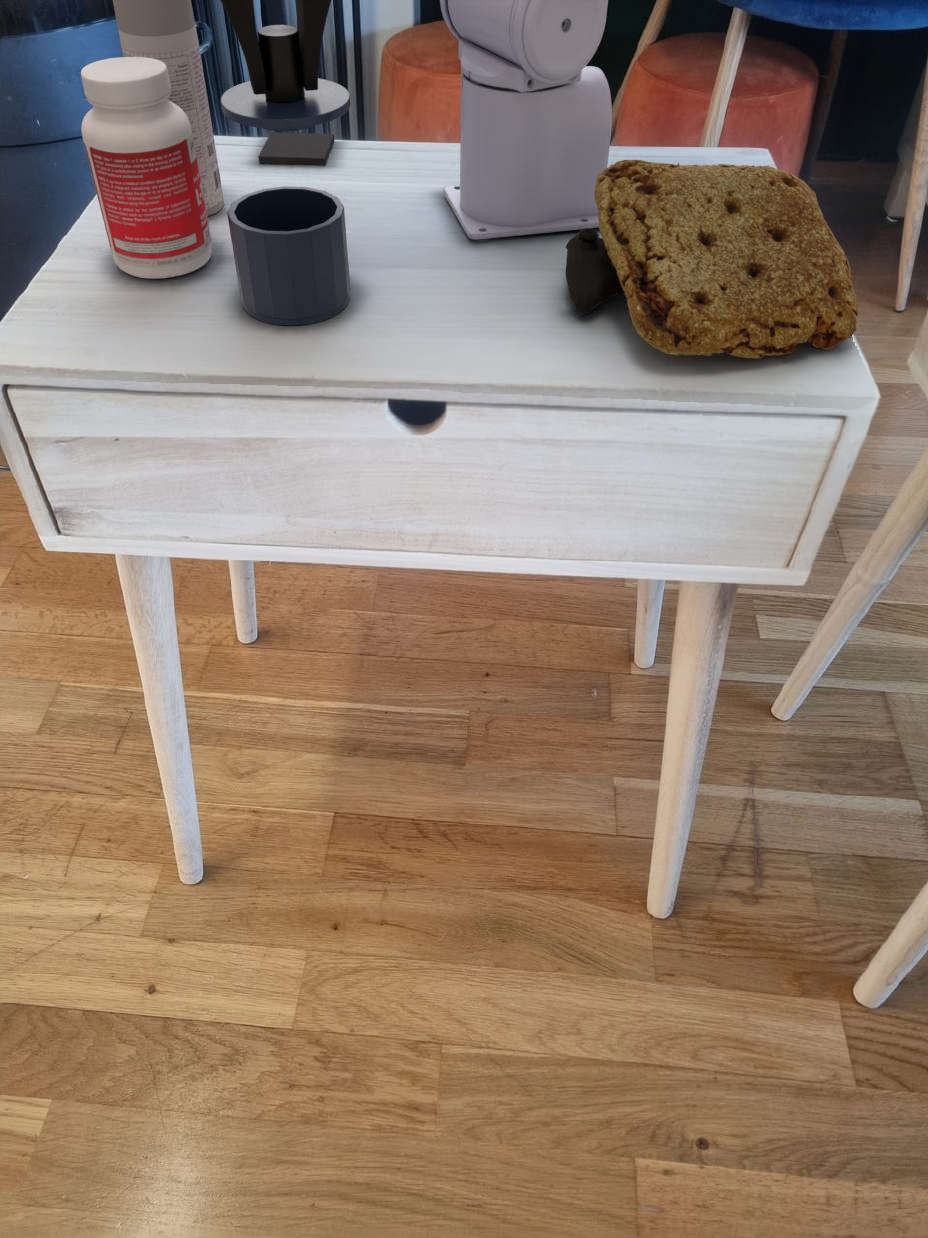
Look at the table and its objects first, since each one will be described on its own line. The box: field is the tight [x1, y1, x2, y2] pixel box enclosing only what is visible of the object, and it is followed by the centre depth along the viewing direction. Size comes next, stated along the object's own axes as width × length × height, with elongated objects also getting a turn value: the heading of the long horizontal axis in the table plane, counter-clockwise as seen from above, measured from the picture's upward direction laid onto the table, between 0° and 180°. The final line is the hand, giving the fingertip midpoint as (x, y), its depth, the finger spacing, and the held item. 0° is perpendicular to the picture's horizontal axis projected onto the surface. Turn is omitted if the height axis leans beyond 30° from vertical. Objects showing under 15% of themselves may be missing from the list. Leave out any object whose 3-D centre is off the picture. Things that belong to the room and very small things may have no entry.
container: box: [112, 0, 225, 217], centre depth 63 cm, size 5×5×15 cm
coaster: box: [257, 131, 335, 166], centre depth 75 cm, size 5×5×1 cm
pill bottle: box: [80, 56, 213, 280], centre depth 59 cm, size 6×6×11 cm
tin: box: [226, 185, 351, 326], centre depth 57 cm, size 6×6×5 cm
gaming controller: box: [564, 228, 625, 316], centre depth 59 cm, size 9×5×5 cm
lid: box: [219, 24, 351, 132], centre depth 55 cm, size 7×7×4 cm
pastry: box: [594, 159, 859, 359], centre depth 56 cm, size 17×17×3 cm
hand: (284, 86), depth 55 cm, fingers closed on lid, 2 cm apart
